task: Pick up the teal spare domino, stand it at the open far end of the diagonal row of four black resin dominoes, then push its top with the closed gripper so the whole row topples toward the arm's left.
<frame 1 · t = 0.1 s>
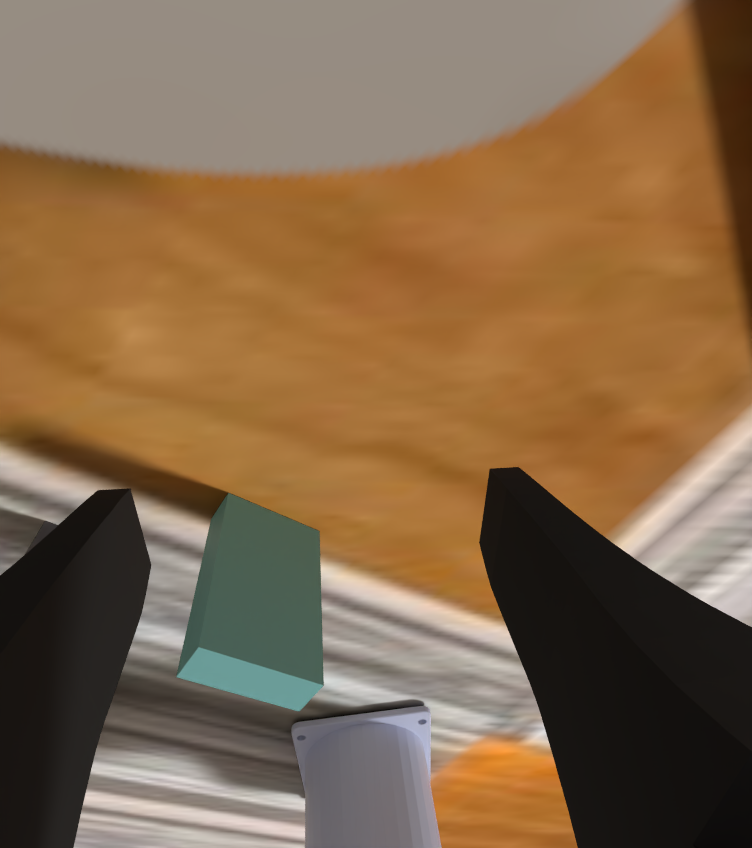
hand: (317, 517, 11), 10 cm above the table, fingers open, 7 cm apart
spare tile: (266, 525, 24), on the table
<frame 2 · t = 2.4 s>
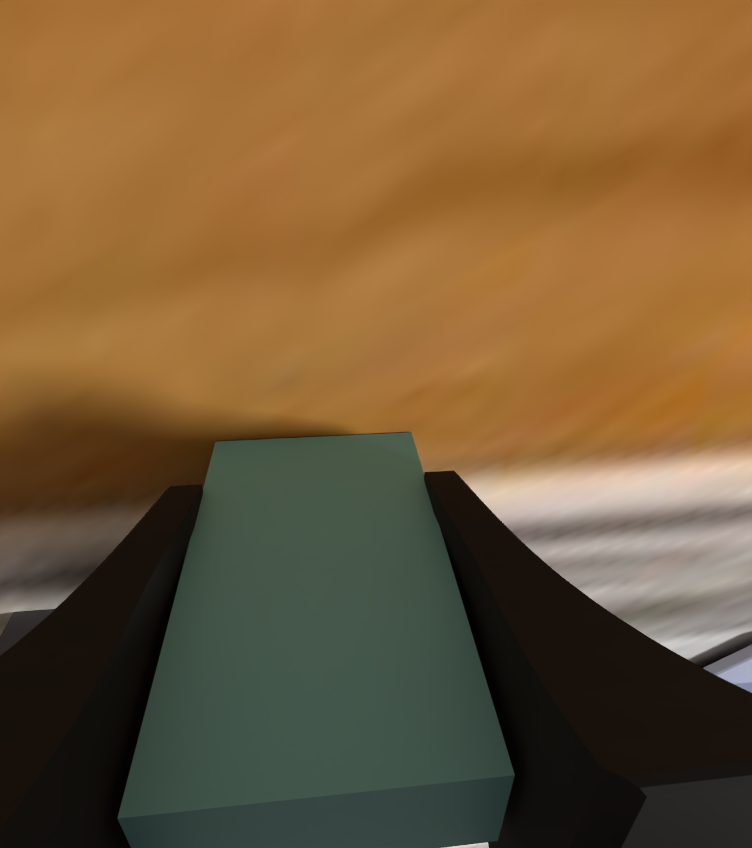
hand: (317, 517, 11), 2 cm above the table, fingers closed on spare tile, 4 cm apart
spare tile: (316, 465, 13), on the table, touching gripper
tile 4: (109, 626, 15), on the table
when the fingers open (3 cm above the table, at t = 5.6 s): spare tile stays where it is, on the table.
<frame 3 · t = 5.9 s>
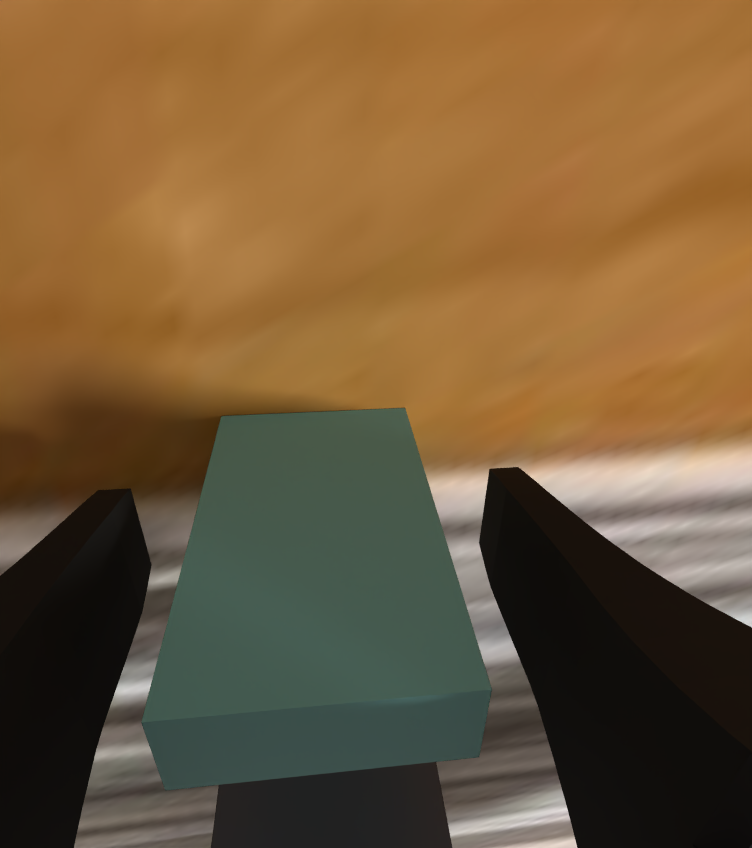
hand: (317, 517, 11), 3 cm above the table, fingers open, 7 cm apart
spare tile: (316, 439, 14), on the table
tile 4: (324, 589, 17), on the table
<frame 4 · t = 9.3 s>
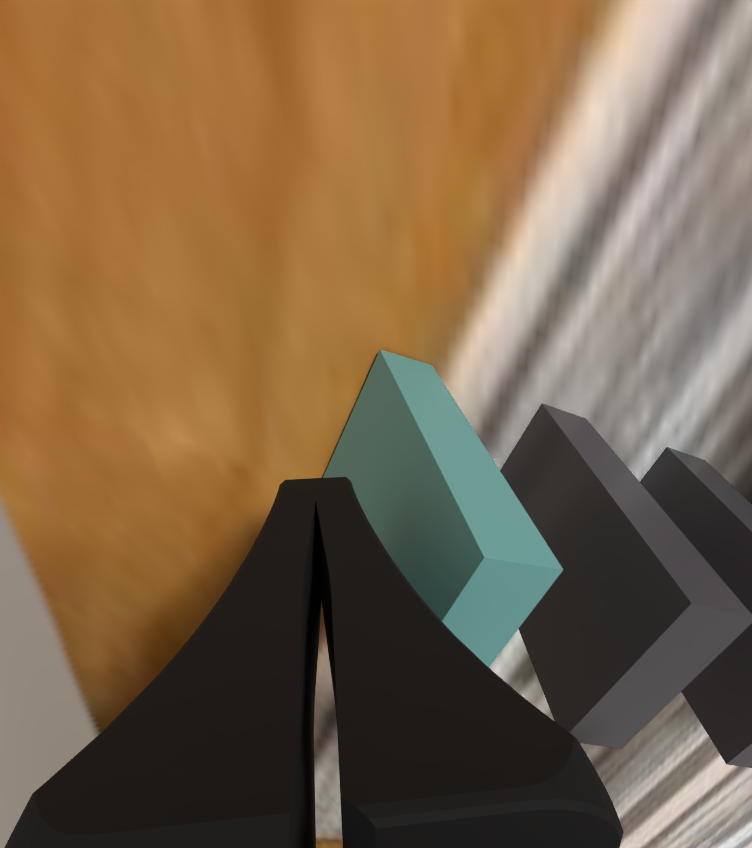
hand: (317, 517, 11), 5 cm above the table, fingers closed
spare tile: (375, 423, 16), on the table, tilted 7°
tile 4: (527, 468, 18), on the table
tile 3: (645, 504, 19), on the table
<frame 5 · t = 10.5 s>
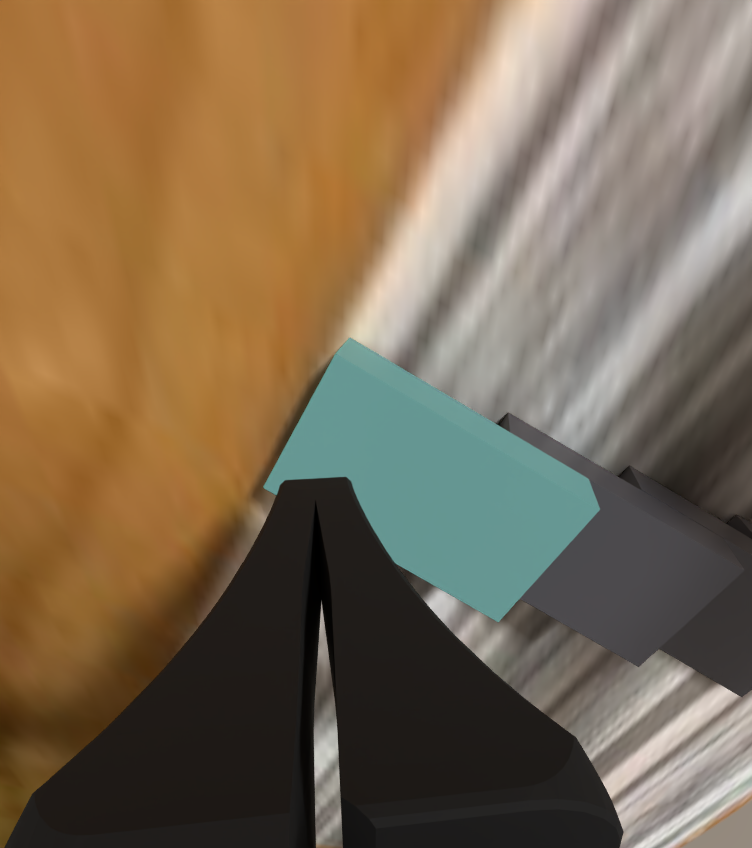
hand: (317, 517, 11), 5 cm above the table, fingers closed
tile 2: (702, 571, 20), point 1 cm above the table, tilted 76°, touching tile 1, tile 3
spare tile: (305, 413, 15), point 1 cm above the table, tilted 72°, touching tile 4
tile 4: (467, 479, 17), point 1 cm above the table, tilted 71°, touching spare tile, tile 3
tile 3: (590, 526, 18), point 1 cm above the table, tilted 71°, touching tile 2, tile 4
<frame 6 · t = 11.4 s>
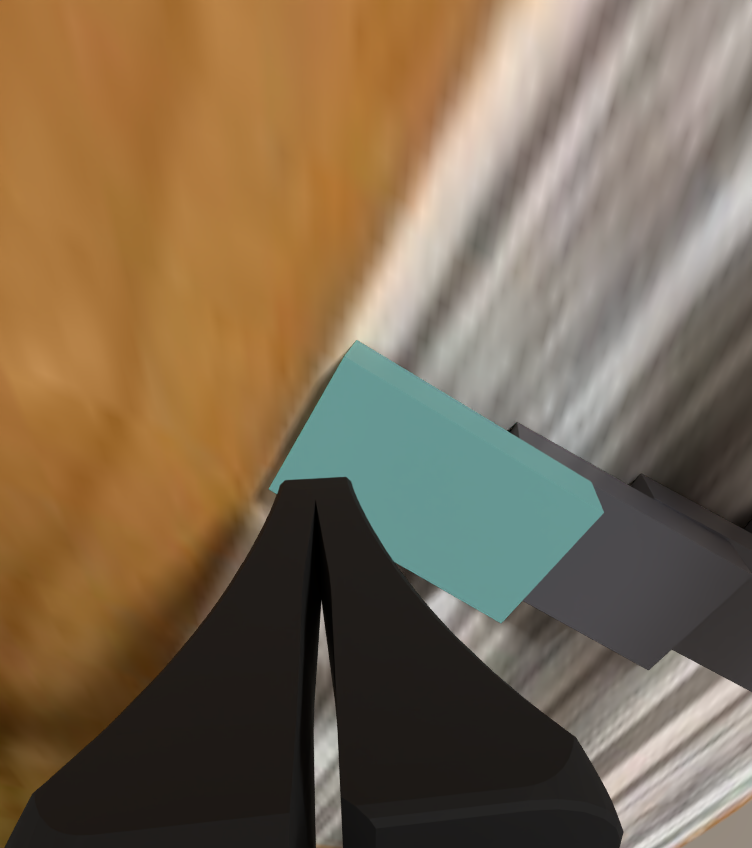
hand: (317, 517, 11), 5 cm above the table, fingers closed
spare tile: (312, 415, 15), point 1 cm above the table, tilted 73°, touching tile 4
tile 4: (477, 489, 17), point 1 cm above the table, tilted 72°, touching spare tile, tile 3
tile 3: (604, 534, 18), point 1 cm above the table, tilted 72°, touching tile 4
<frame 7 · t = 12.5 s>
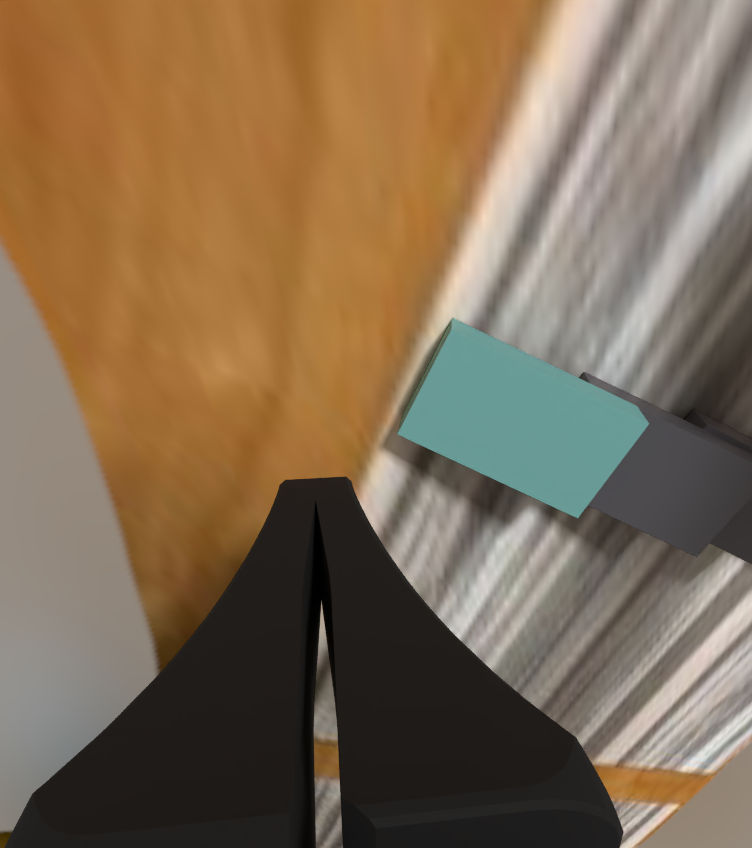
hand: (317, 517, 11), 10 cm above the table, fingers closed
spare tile: (424, 376, 20), point 1 cm above the table, tilted 74°, touching tile 4
tile 4: (556, 425, 22), point 1 cm above the table, tilted 73°, touching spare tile
tile 3: (665, 458, 24), point 1 cm above the table, tilted 73°, touching tile 2
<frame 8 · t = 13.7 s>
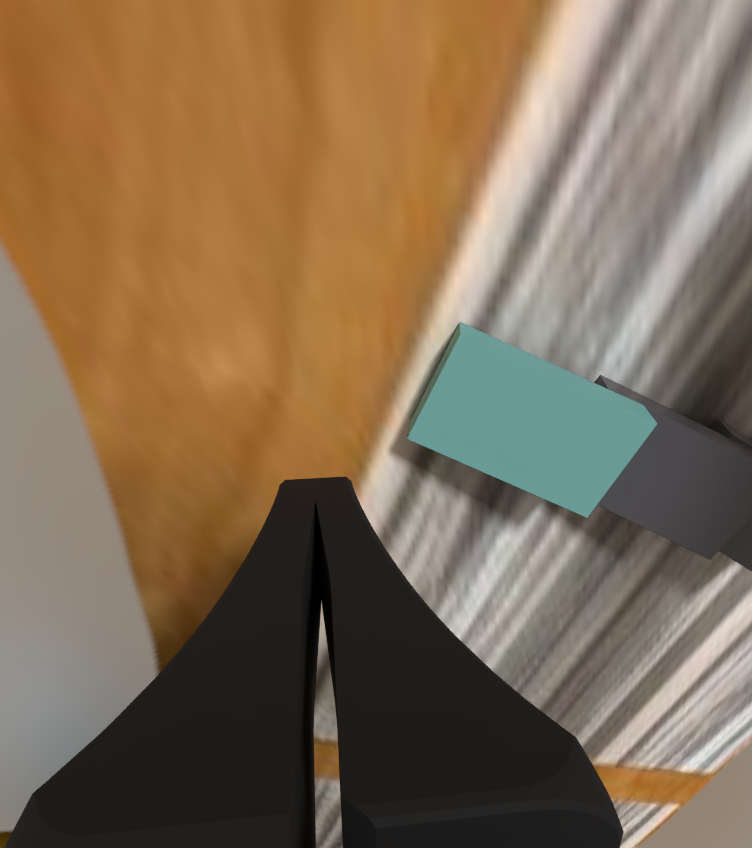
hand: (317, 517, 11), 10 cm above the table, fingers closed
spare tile: (433, 381, 20), point 1 cm above the table, tilted 75°, touching tile 4
tile 4: (572, 427, 22), point 1 cm above the table, tilted 72°, touching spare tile
tile 3: (686, 465, 24), point 1 cm above the table, tilted 70°, touching tile 2
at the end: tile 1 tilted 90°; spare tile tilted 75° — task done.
